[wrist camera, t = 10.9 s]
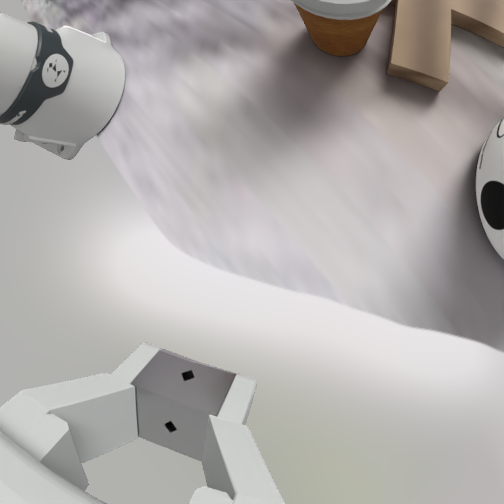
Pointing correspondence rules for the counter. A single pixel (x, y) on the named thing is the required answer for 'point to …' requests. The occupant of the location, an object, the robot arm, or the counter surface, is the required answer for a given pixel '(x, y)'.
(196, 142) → the counter surface
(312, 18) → the disposable coffee cup
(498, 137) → the milk container
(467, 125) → the counter surface
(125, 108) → the counter surface
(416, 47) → the walnut T block
